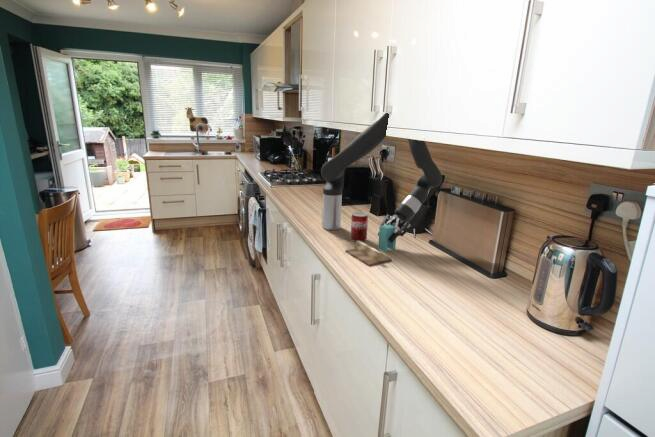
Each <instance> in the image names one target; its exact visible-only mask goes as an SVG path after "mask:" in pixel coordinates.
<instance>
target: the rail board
mask: <svg viewBox="0 0 655 437" xmlns="http://www.w3.org/2000/svg"><path fill="white" fill-rule="evenodd" d="M382 252H383V251H381V250H378V249H376V248H375V247H373V246H371V245H369V244H367V243H364V242H361V241H356V244H355V247H354V248H349V249H345V253H347V254H348V255H350V256H352V257H353V258H354V259H356V260H358V261H359V262H361V263H363V264H364V265H365V266H368V267H372V266H375V265H376V266H377V265H380V264H384V263H389V262H392V258H391V257H389V256H387V255H386V254H383V253H382Z"/></svg>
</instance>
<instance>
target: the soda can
mask: <svg viewBox="0 0 655 437" xmlns="http://www.w3.org/2000/svg"><path fill="white" fill-rule="evenodd" d="M368 222H369V215H368V214H367V213H366V212H360V211H359V212H357V211H356V212H353V213H352V214H351V222H350V223H351V224H350V225H351V226H350V239H351V241H352V242H356V241H361V242H363V243H364V242H365V241H367V239H368V224H369V223H368Z"/></svg>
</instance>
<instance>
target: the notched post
mask: <svg viewBox="0 0 655 437" xmlns="http://www.w3.org/2000/svg"><path fill="white" fill-rule="evenodd" d="M394 231H395V226H393V225H390V224H389V225H383V226H381V225H379V230H378V232H379V236H378V242H377V243H378V244H377V245H378V246H377V250H378V249H379V251H381V252H388V249H390V250H391V251H395V250H396V246H397V244H396V243H397V238H396V239H395V240H394V241H393V242H392V243H391V242H389V240H388V239H389V238H390V236H391V235H392V234H393V233H394Z"/></svg>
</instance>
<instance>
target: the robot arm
mask: <svg viewBox="0 0 655 437" xmlns="http://www.w3.org/2000/svg"><path fill="white" fill-rule="evenodd" d="M388 118H389V114H388V113H386V112H385V113H383V115H381V116H380V117H379V119H377V120H376V121H375V122H373V123H372V124H370V125H369V126H368V127H367V128H366V129H364V130H363V131H361V132H360V133H359V134H358V135H357V136H355V138H354V139H352V140H351V141H350V142H349V143H348V144H347V145H346V146H345V147H344V148H343V149H342V150H341V151H340V152H339V153H337V154H336V155H335V156H334V157H332V158H331V159H329V160H328V161H326V162H324V164H323V165H322V167H321V169H320V174H321V178H323V180H325V181H326V182H325V184H324V186H323V189H322V208H321V227H322V228H323V229H324V230H329V231H337V230H340V229H341V226H342V225H341V224H342V202H343V200H342V199H343V198H342V197H343V196H342V195H343V190H344V184H345V170H346V169H347V168H349V166H351V165H353V164H354V163H356V162H358V161H360V160H361V159H363V158H364V157H366V156H367V155H368V154H370V153H371V152H372V151H374V150H375V149H376V148H377V147H378V146H379V145H380V144H381V143H382V142H383V141H384V139H385V138H387V136H386V130H387V125H388ZM407 141H408V145H409V150H410V153H411V156H412V158H413V161H414V163H415V166H416V168H418V169H420V170H421V171H422V174H421V175H420V176H419V178H418V179H417V181H416V183H415V185H414V187H413V188H412V189H411V191H410V192H409V194H408V195H407V196H406V197H405V198H404V199H403V200H402V201H401V202H400V204H399V205H398V206H397V208H396V209H395V210H394V214H393V215H389V214H386V216H384V219H382V222H381V223H380V225H379V226H383V225H389V224H390V225H393V226H395V231H394V233H393V234H392V235H391V236H390V238H389V239H388V240H389V242H391V243H392V242H393V241H394V240H395V239H396V240H397V238H398V237H399V236H400V237H403V236H405V234H406V233H407V232H408V231H409V230H410V229H411V228H412V225H411V224H410V221H412V219H413V218H414V216H416V213H418V211H419V210H420V208H421V207H422V205H423V204H424V203H425V201H427V199H428V196H429V193H428V192H429V190H431V189H432V188H437V187H439V186H441V185H442V182H443V175H442V172H441V170H440V169H439V168H438V166H437V165H436V163H435V162H434V160H433V158H432V155H431V152H430V151H429V147H428V146H427V143H426V141H425V142H424V141H417V140H410V139H408V138H407ZM377 236H378V237H379V231H378V233H377Z"/></svg>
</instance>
